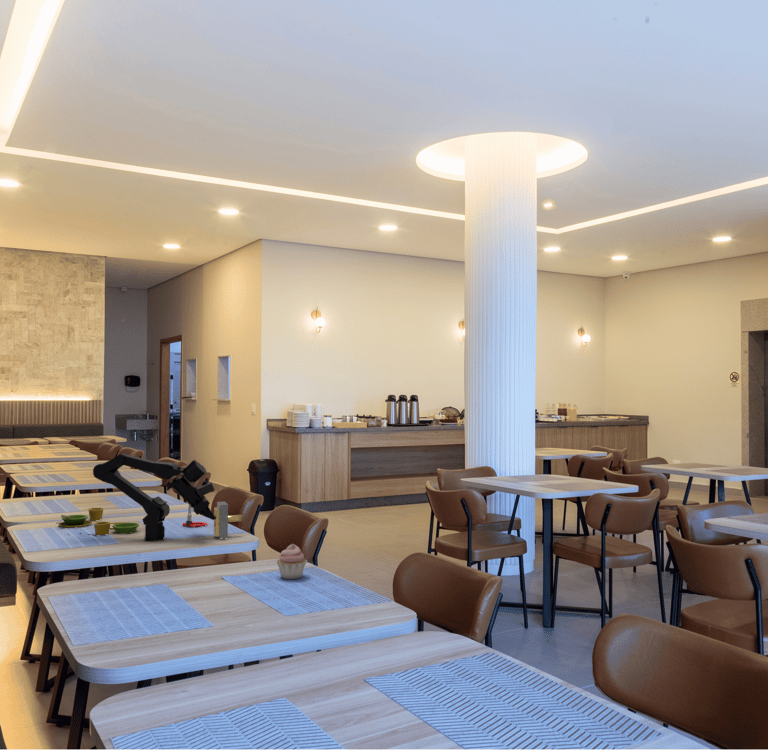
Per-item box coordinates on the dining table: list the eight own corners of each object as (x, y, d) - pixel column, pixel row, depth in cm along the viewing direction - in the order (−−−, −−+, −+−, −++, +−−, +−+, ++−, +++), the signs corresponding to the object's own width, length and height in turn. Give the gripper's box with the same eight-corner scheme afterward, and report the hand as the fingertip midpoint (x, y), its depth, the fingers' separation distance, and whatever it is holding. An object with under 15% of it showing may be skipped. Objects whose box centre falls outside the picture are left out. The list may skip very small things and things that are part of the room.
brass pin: (215, 536, 268) (216, 510, 269) (213, 533, 274) (214, 507, 274) (242, 534, 272) (242, 508, 272) (239, 532, 277) (240, 506, 278)
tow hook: (197, 524, 302) (180, 526, 294) (199, 493, 303) (182, 495, 295) (211, 526, 297) (194, 528, 290) (213, 495, 298) (196, 496, 290)
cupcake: (278, 581, 208) (278, 547, 208) (274, 574, 217) (274, 541, 217) (309, 580, 210) (310, 546, 210) (304, 572, 219) (305, 539, 219)
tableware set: (53, 524, 300) (54, 509, 300) (122, 518, 315) (122, 504, 315) (69, 541, 265) (69, 524, 266) (145, 534, 280) (145, 518, 280)
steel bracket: (219, 539, 268) (220, 504, 268) (216, 535, 275) (217, 501, 276) (227, 539, 269) (228, 504, 269) (224, 535, 276) (224, 501, 277)
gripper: (204, 477, 261) (233, 507, 264) (200, 472, 279) (227, 500, 282) (181, 499, 258) (211, 529, 261) (178, 492, 276) (206, 520, 279)
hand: (214, 519), depth 271 cm, fingers closed, pressing on brass pin
